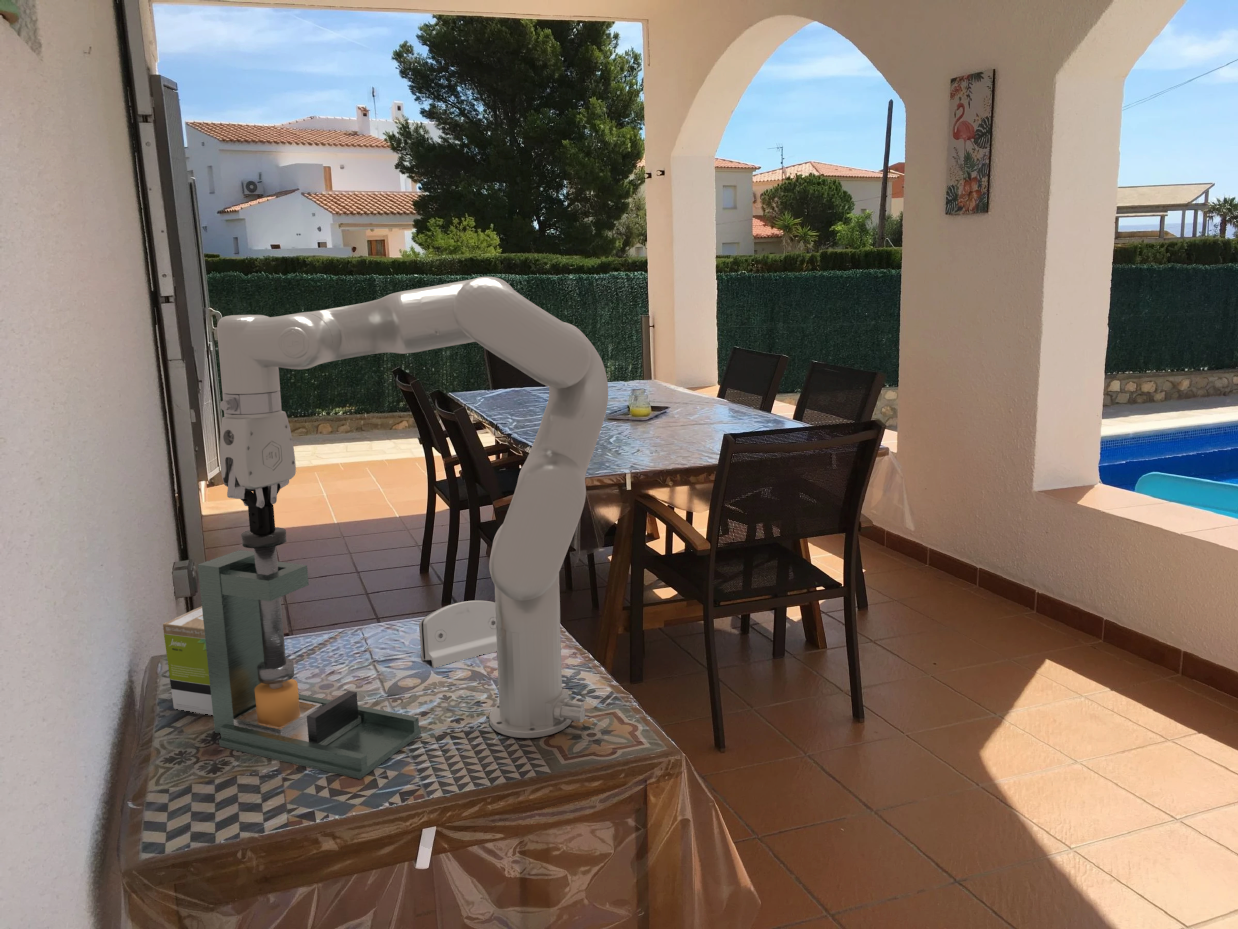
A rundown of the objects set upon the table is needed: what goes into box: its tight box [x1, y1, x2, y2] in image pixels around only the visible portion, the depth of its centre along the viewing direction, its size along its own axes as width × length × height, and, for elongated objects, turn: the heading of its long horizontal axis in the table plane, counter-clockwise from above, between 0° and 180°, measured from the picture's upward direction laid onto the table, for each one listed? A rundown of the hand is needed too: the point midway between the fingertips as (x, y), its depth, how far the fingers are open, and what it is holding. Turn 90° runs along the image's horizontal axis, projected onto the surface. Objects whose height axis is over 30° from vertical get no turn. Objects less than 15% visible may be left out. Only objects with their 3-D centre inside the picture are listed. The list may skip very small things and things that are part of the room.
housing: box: [254, 678, 300, 727], centre depth 141 cm, size 6×6×6 cm
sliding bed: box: [233, 690, 361, 746], centre depth 140 cm, size 15×10×5 cm, turn 67°
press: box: [197, 549, 422, 780], centre depth 137 cm, size 29×14×26 cm, turn 67°
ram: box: [240, 526, 295, 684], centre depth 138 cm, size 6×6×22 cm
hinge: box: [418, 600, 497, 669], centre depth 171 cm, size 17×5×10 cm, turn 126°
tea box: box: [162, 605, 213, 716], centre depth 153 cm, size 15×10×15 cm
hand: (262, 532), depth 136 cm, fingers closed
